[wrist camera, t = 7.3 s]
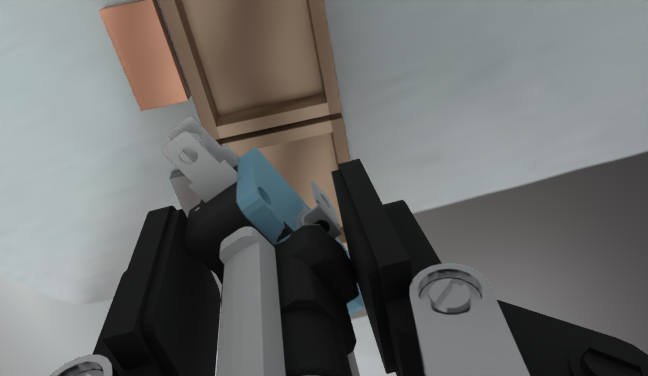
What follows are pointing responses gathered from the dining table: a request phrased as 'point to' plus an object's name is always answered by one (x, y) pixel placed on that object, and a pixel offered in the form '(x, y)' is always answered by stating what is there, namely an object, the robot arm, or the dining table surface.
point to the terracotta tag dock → (229, 59)
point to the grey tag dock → (289, 158)
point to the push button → (268, 263)
